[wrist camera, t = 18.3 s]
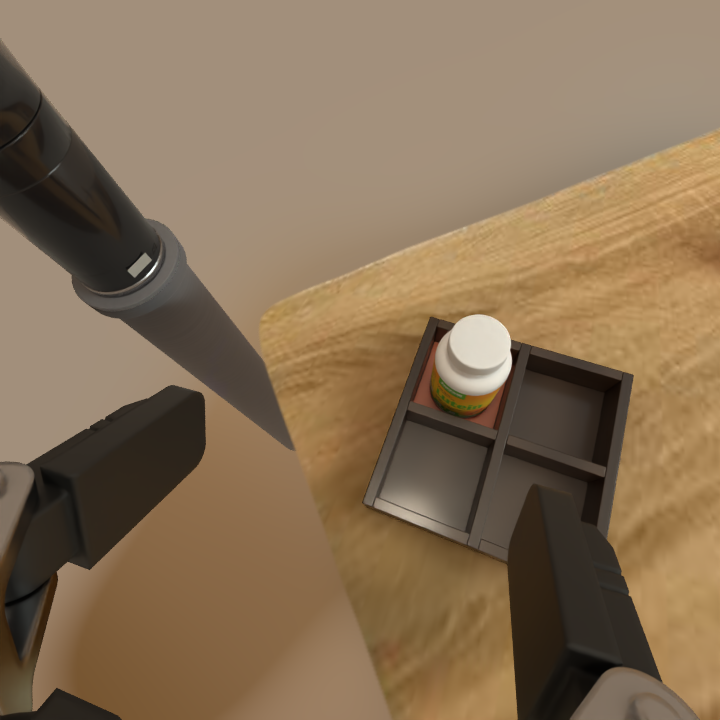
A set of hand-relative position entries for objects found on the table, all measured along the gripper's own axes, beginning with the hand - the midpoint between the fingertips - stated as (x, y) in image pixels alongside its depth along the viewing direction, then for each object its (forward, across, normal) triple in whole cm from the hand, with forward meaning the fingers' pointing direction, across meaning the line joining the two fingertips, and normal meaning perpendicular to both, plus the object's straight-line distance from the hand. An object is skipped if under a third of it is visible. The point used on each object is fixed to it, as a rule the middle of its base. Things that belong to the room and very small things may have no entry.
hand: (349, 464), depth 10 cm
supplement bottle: (+26, -4, +10) cm, 28 cm away
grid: (+24, -7, +13) cm, 28 cm away
